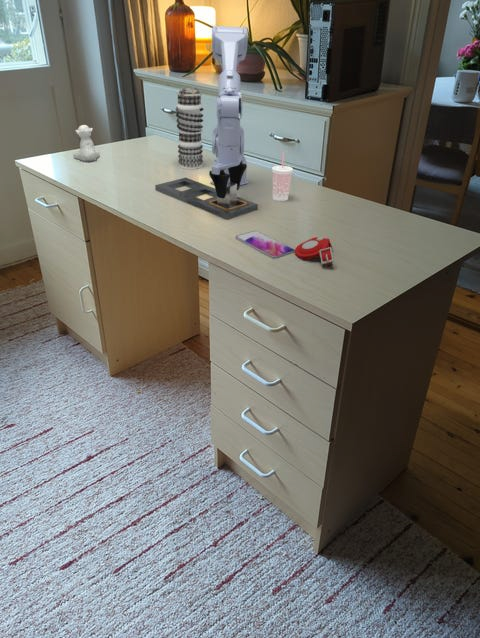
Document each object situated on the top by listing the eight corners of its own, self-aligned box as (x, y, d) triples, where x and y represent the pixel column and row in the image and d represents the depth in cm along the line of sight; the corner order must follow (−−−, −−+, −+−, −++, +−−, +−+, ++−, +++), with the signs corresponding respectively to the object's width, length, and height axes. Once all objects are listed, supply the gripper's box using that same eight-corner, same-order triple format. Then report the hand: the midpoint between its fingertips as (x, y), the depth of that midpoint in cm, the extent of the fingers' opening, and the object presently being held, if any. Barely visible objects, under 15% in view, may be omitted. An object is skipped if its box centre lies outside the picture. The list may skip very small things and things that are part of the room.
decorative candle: (189, 160, 187) (187, 85, 174) (209, 165, 183) (208, 88, 169) (172, 166, 181) (168, 88, 167) (192, 171, 176) (190, 92, 163)
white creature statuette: (99, 155, 190) (95, 121, 184) (104, 161, 183) (100, 126, 177) (73, 157, 187) (68, 122, 180) (77, 163, 180) (72, 128, 174)
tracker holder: (285, 251, 122) (309, 230, 127) (290, 267, 124) (313, 245, 129) (327, 256, 114) (351, 233, 119) (332, 273, 116) (355, 250, 121)
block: (224, 205, 150) (224, 181, 146) (236, 207, 148) (237, 183, 144) (217, 209, 147) (217, 184, 143) (229, 211, 145) (230, 187, 141)
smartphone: (255, 230, 134) (296, 250, 124) (255, 233, 134) (296, 253, 124) (233, 236, 130) (274, 257, 120) (233, 239, 130) (273, 260, 120)
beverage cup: (294, 198, 156) (298, 151, 148) (282, 203, 152) (285, 155, 145) (278, 193, 159) (281, 147, 152) (266, 198, 156) (268, 150, 148)
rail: (185, 182, 166) (185, 176, 165) (257, 209, 147) (257, 203, 146) (155, 190, 159) (155, 184, 158) (227, 219, 140) (227, 213, 139)
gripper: (229, 136, 145) (228, 184, 152) (201, 147, 134) (202, 198, 141) (251, 139, 142) (249, 188, 149) (225, 151, 131) (224, 203, 138)
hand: (228, 193), depth 145 cm, fingers open, 7 cm apart
